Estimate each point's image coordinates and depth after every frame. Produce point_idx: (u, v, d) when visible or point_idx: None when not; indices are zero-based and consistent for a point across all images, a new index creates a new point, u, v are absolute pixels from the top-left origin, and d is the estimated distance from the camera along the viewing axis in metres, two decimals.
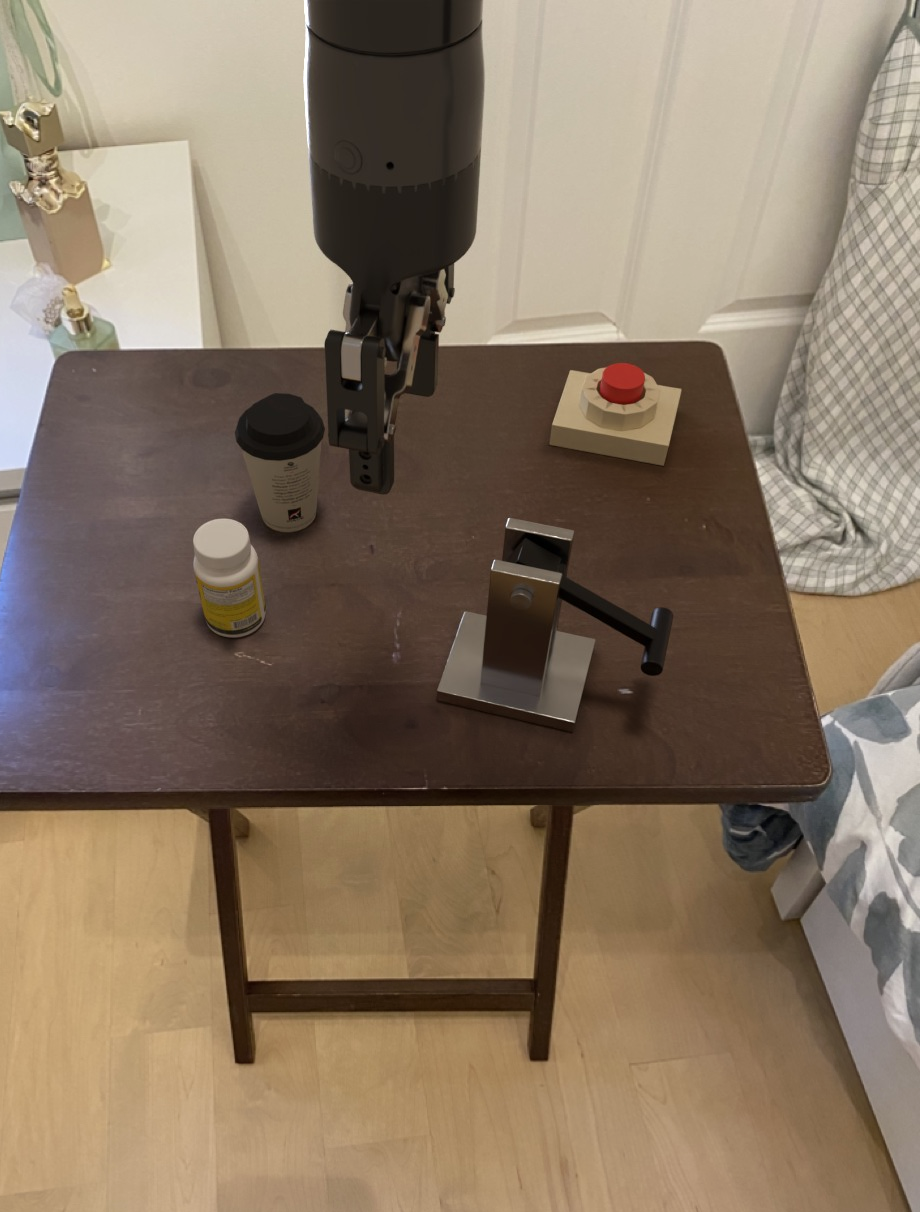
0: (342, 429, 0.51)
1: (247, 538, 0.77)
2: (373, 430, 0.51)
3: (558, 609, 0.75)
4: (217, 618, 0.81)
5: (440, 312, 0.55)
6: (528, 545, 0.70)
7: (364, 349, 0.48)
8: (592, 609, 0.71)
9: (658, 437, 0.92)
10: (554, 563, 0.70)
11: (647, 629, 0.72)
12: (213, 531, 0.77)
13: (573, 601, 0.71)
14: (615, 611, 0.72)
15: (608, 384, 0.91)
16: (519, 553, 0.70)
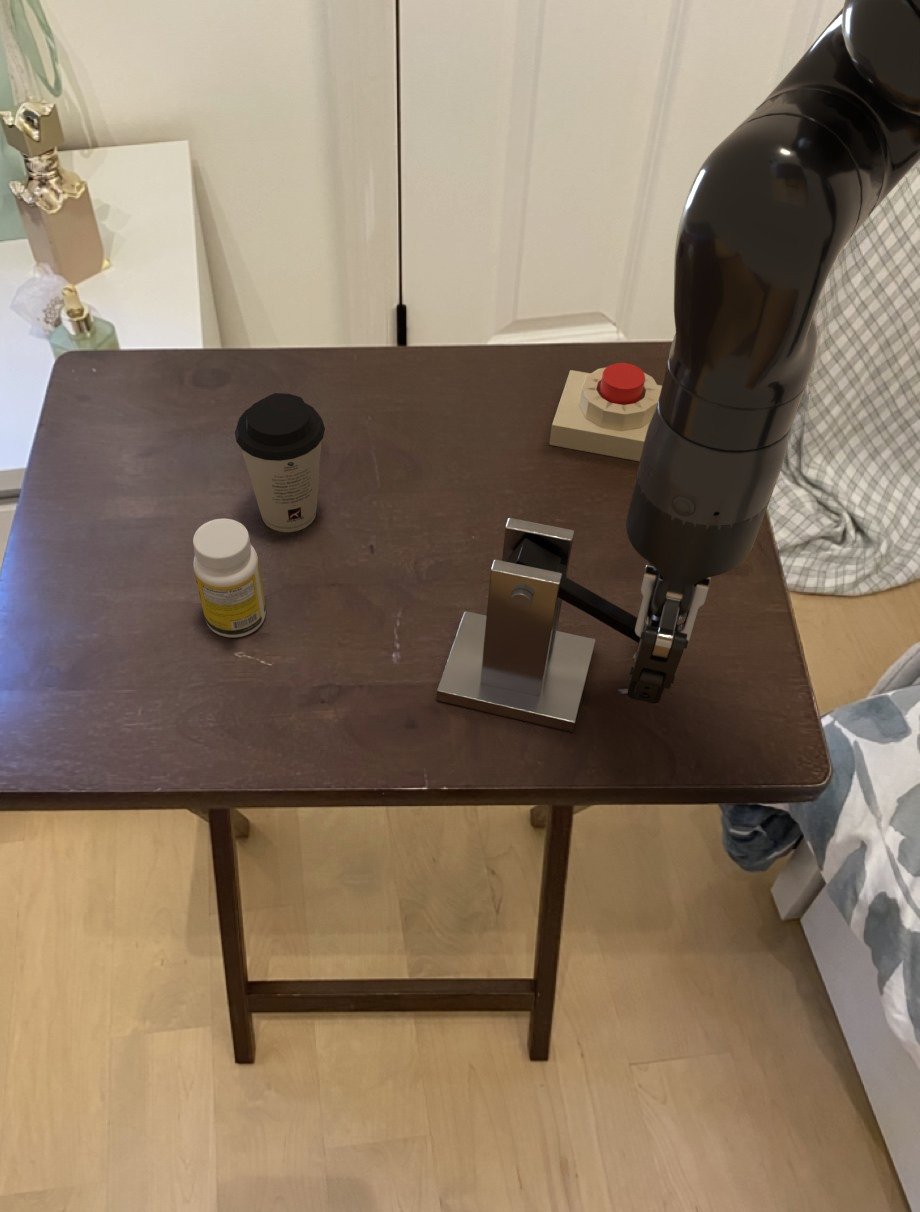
0: (643, 670, 0.67)
1: (247, 538, 0.77)
2: (669, 679, 0.66)
3: (558, 609, 0.75)
4: (217, 618, 0.81)
5: None
6: (528, 545, 0.70)
7: (673, 646, 0.63)
8: (592, 609, 0.71)
9: None
10: (554, 563, 0.70)
11: None
12: (213, 531, 0.77)
13: (573, 601, 0.71)
14: (615, 611, 0.72)
15: (608, 384, 0.91)
16: (519, 553, 0.70)
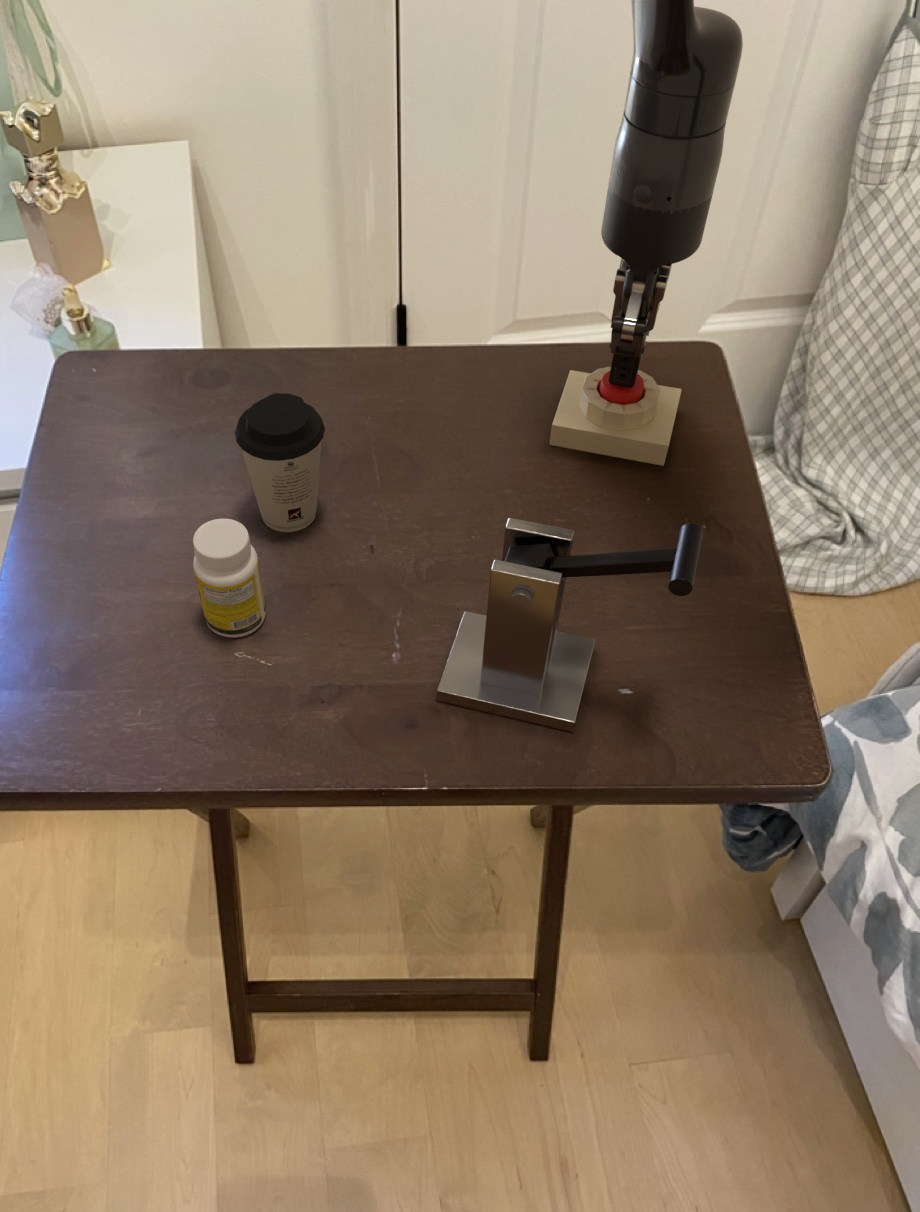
0: None
1: (247, 538, 0.77)
2: (638, 353, 0.86)
3: (558, 609, 0.75)
4: (217, 618, 0.81)
5: (659, 302, 0.86)
6: (512, 551, 0.71)
7: (635, 333, 0.82)
8: (601, 568, 0.68)
9: (658, 437, 0.92)
10: (542, 551, 0.70)
11: (665, 554, 0.66)
12: (213, 531, 0.77)
13: (581, 572, 0.69)
14: (624, 557, 0.68)
15: (607, 390, 0.92)
16: None
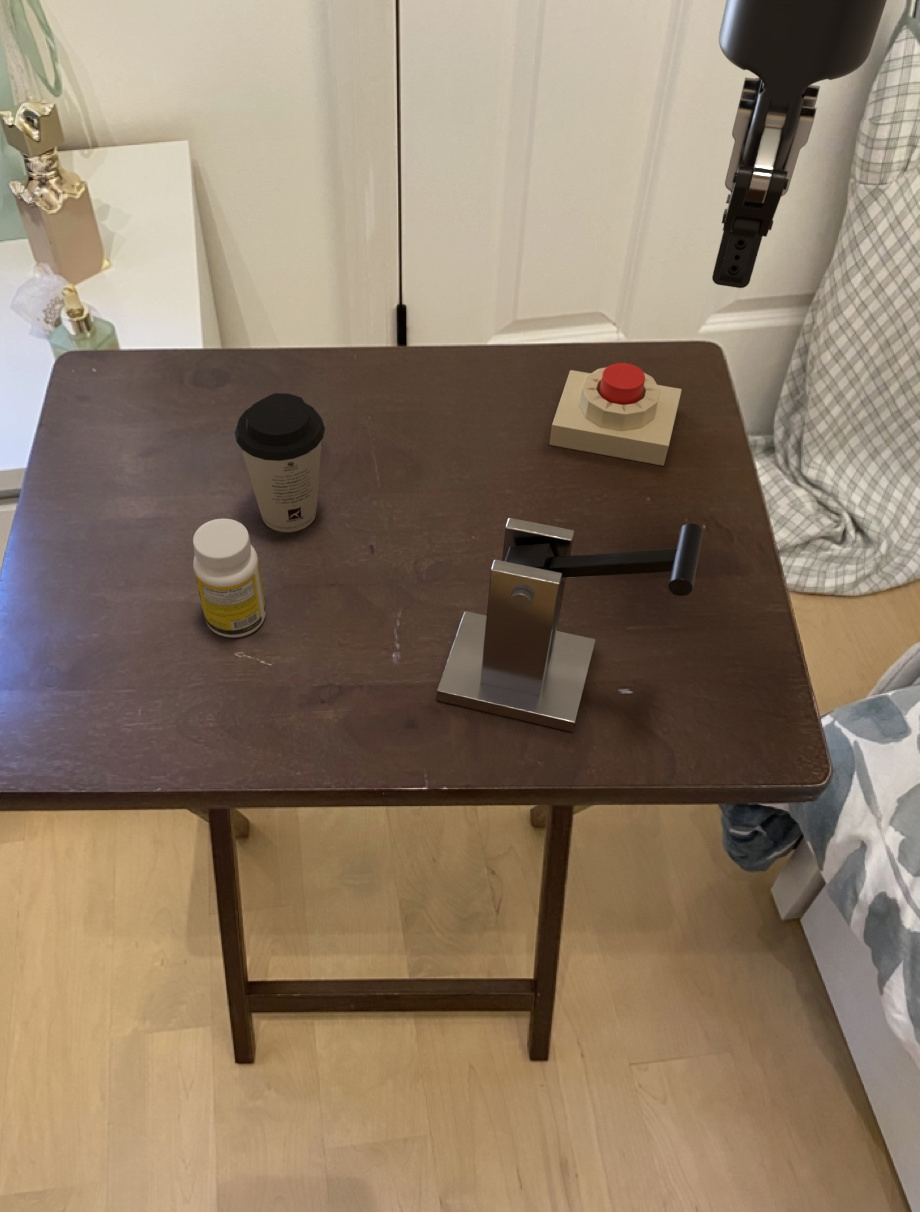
0: None
1: (247, 538, 0.77)
2: (766, 227, 0.59)
3: (558, 609, 0.75)
4: (217, 618, 0.81)
5: None
6: (512, 551, 0.71)
7: (771, 188, 0.55)
8: (601, 568, 0.68)
9: (658, 437, 0.92)
10: (542, 551, 0.70)
11: (665, 554, 0.66)
12: (213, 531, 0.77)
13: (581, 572, 0.69)
14: (624, 557, 0.68)
15: (608, 384, 0.91)
16: None
